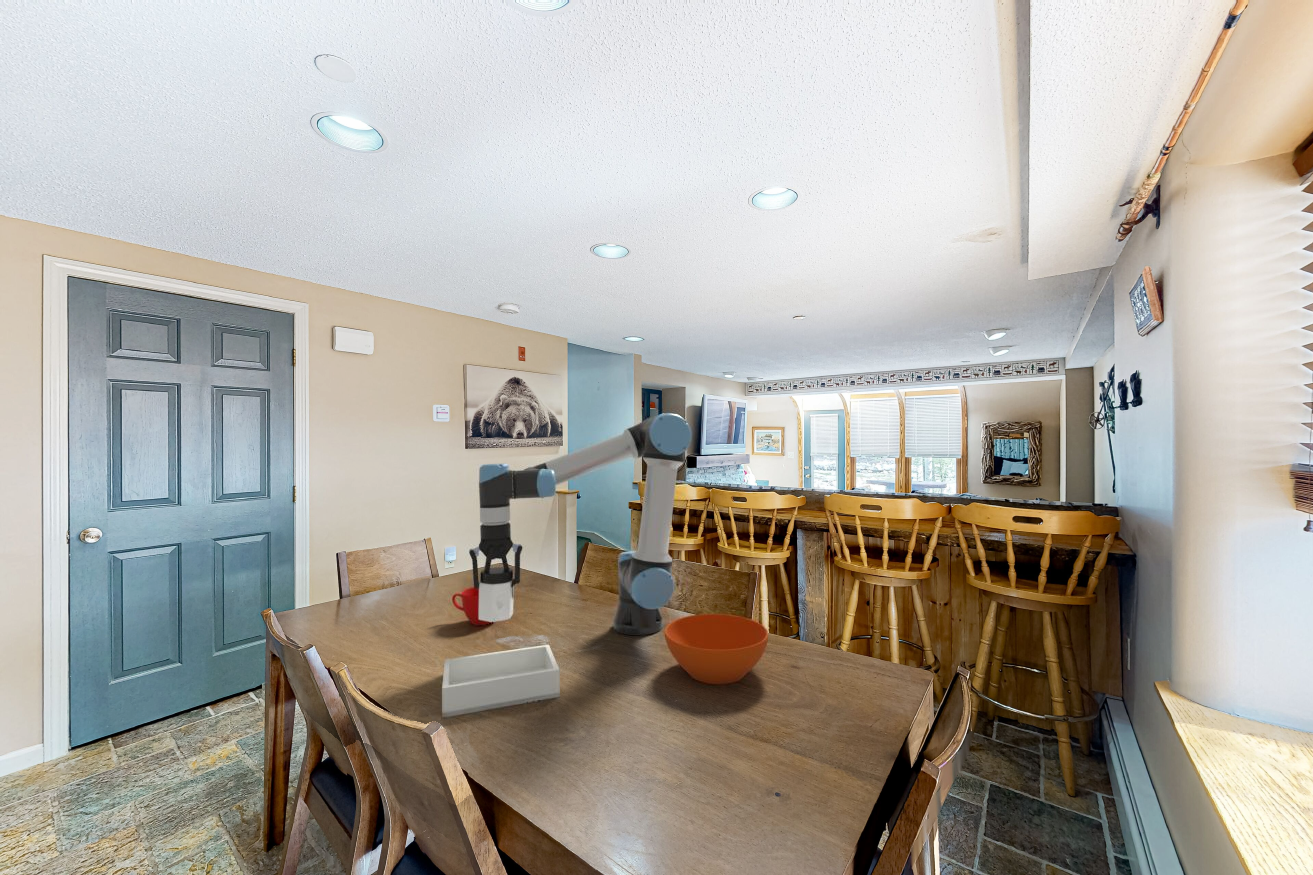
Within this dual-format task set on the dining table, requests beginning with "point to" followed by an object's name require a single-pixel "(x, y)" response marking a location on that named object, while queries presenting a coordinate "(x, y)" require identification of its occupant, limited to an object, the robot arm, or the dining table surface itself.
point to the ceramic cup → (470, 605)
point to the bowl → (716, 646)
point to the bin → (499, 680)
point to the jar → (495, 594)
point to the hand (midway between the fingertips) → (497, 612)
